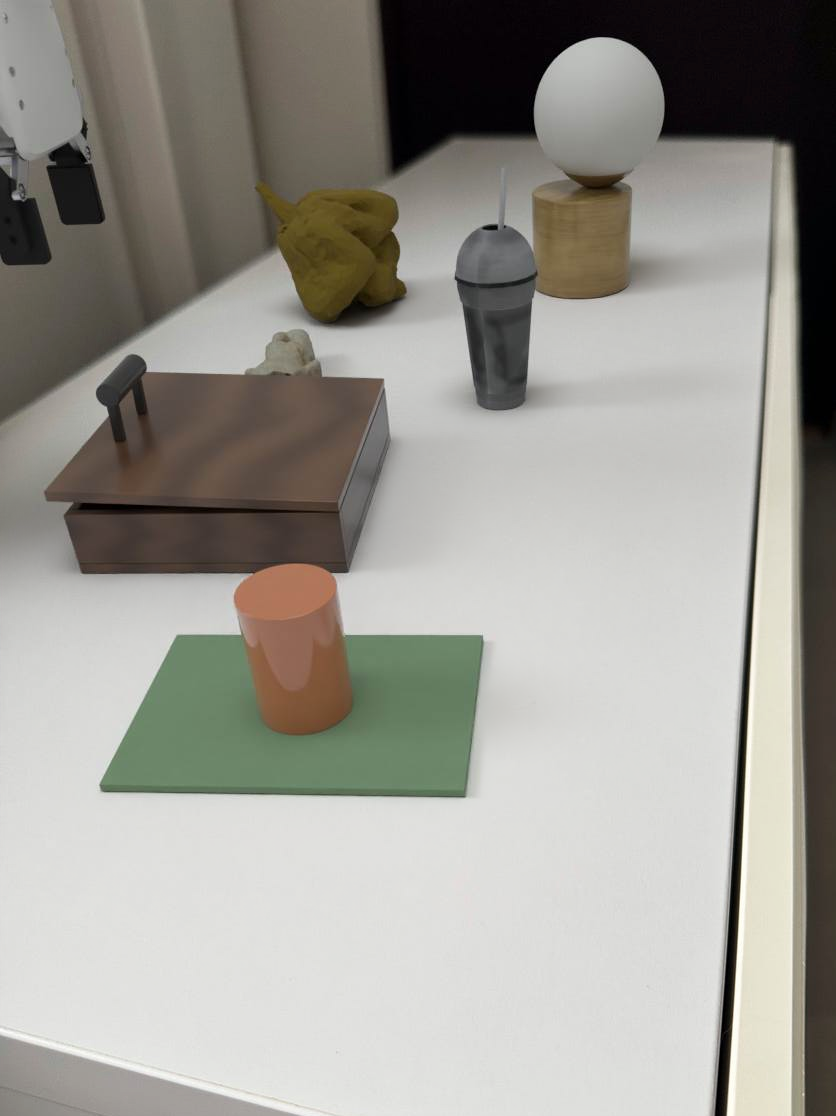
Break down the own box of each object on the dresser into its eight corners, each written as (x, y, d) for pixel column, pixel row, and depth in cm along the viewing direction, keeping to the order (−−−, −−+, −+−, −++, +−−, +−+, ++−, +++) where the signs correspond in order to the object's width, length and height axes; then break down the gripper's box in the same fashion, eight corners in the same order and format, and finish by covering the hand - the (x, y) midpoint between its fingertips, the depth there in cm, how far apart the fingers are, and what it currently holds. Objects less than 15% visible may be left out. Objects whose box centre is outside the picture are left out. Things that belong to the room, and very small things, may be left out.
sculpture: (256, 370, 109) (244, 419, 96) (250, 324, 106) (238, 367, 93) (326, 368, 109) (323, 415, 97) (322, 321, 107) (319, 364, 94)
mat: (100, 791, 57) (98, 784, 57) (178, 640, 69) (176, 634, 68) (465, 796, 56) (464, 790, 55) (483, 641, 67) (483, 634, 67)
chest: (81, 573, 76) (62, 515, 73) (172, 442, 94) (160, 391, 91) (347, 572, 74) (339, 512, 72) (390, 439, 92) (385, 387, 89)
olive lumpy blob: (265, 313, 120) (244, 184, 112) (350, 279, 129) (336, 156, 121) (353, 337, 114) (338, 200, 105) (437, 298, 122) (429, 169, 114)
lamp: (595, 253, 133) (599, 26, 119) (681, 276, 124) (696, 33, 110) (505, 282, 126) (497, 43, 111) (589, 308, 117) (592, 52, 102)
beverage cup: (448, 395, 99) (432, 168, 87) (516, 378, 102) (509, 155, 90) (484, 422, 94) (472, 184, 82) (554, 404, 96) (552, 170, 85)
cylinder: (248, 734, 60) (221, 619, 55) (271, 674, 64) (247, 563, 60) (345, 735, 59) (326, 620, 55) (361, 675, 64) (345, 562, 59)
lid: (45, 501, 73) (26, 429, 70) (147, 380, 90) (135, 318, 87) (338, 512, 72) (332, 439, 68) (384, 387, 89) (381, 324, 86)
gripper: (-18, -57, 70) (55, 212, 80) (-165, -39, 56) (-54, 283, 66) (90, -63, 70) (150, 208, 80) (-31, -47, 56) (60, 280, 66)
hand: (57, 242), depth 73 cm, fingers open, 9 cm apart
